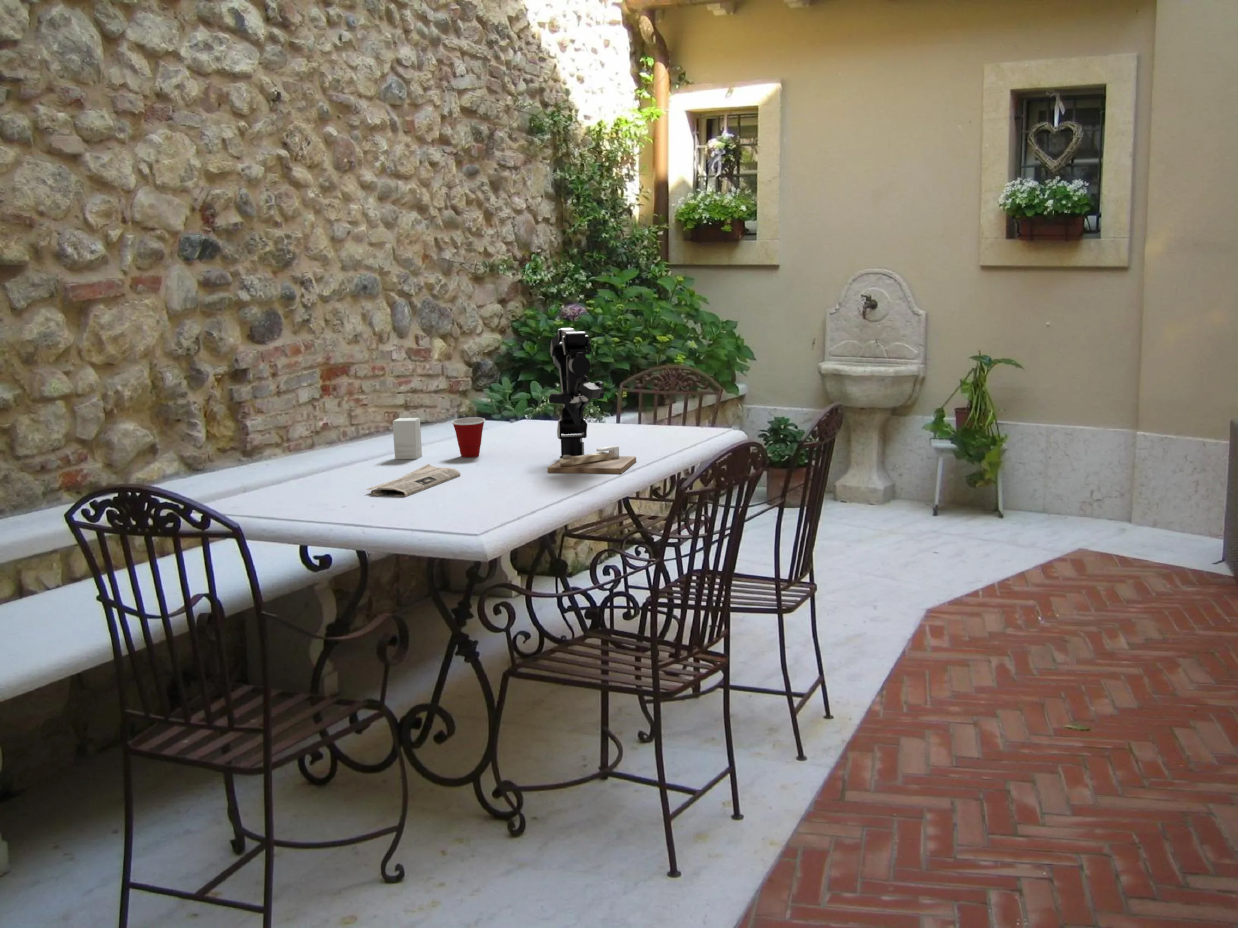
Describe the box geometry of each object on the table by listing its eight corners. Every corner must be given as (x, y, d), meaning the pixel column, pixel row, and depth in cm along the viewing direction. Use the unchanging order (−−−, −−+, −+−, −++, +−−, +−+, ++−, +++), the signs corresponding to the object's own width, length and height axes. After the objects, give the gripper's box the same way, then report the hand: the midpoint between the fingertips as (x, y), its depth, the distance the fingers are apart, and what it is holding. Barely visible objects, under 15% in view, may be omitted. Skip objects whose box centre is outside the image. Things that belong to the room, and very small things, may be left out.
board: (547, 472, 345) (547, 467, 345) (566, 460, 367) (566, 455, 367) (621, 473, 340) (621, 468, 340) (636, 461, 363) (636, 456, 362)
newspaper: (405, 498, 310) (405, 485, 310) (363, 496, 314) (362, 483, 313) (462, 477, 343) (462, 465, 343) (424, 475, 347) (423, 463, 346)
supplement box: (422, 456, 383) (420, 417, 381) (416, 459, 375) (414, 420, 373) (400, 456, 383) (398, 417, 381) (394, 459, 376) (392, 420, 374)
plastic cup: (447, 458, 377) (445, 421, 375) (461, 453, 387) (459, 417, 385) (478, 459, 374) (477, 421, 372) (491, 454, 384) (490, 417, 382)
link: (566, 466, 344) (566, 456, 344) (557, 464, 347) (557, 455, 346) (610, 458, 357) (610, 449, 356) (601, 457, 359) (601, 448, 359)
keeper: (601, 460, 356) (601, 449, 355) (596, 459, 357) (596, 448, 357) (619, 457, 361) (618, 446, 360) (613, 456, 363) (613, 445, 362)
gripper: (573, 376, 344) (575, 429, 347) (616, 372, 358) (617, 423, 360) (546, 375, 352) (548, 427, 354) (589, 370, 365) (590, 420, 368)
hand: (577, 424), depth 359 cm, fingers closed
